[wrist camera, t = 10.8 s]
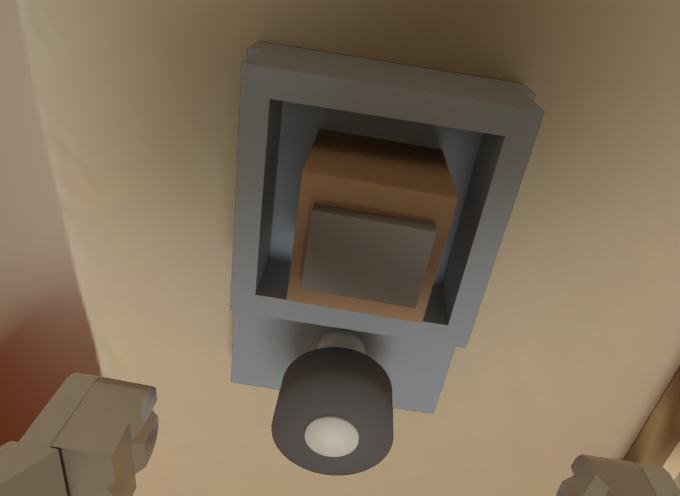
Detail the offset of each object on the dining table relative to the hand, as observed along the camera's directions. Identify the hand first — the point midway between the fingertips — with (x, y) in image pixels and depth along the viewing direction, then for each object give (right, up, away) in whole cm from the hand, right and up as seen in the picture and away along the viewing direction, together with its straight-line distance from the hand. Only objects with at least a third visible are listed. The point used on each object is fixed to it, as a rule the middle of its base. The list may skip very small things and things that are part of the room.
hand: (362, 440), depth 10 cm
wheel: (-1, -3, +13) cm, 14 cm away
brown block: (+1, +6, +12) cm, 13 cm away
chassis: (+1, +4, +15) cm, 16 cm away
